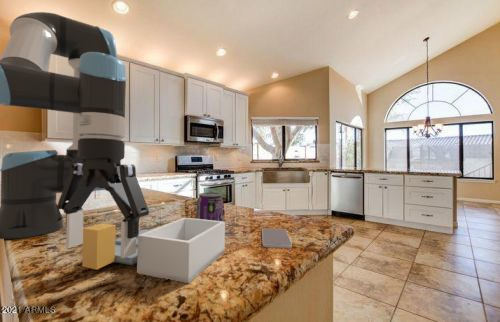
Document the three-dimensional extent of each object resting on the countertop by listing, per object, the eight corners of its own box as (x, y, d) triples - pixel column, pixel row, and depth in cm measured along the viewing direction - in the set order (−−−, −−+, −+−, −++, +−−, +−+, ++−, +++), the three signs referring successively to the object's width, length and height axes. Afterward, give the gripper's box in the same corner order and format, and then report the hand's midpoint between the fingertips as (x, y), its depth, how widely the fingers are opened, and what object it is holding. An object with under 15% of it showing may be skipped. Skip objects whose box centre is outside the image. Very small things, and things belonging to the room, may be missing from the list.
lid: (66, 271, 44) (67, 226, 44) (143, 238, 62) (143, 207, 62) (113, 281, 40) (114, 232, 40) (180, 244, 59) (180, 210, 59)
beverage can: (217, 242, 60) (218, 196, 60) (191, 240, 61) (192, 195, 61) (225, 234, 67) (226, 192, 67) (202, 232, 68) (203, 191, 68)
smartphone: (285, 228, 72) (292, 245, 57) (285, 231, 72) (292, 249, 57) (261, 228, 72) (262, 244, 57) (261, 231, 72) (262, 248, 57)
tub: (137, 273, 43) (137, 235, 43) (183, 245, 57) (184, 217, 57) (188, 283, 40) (189, 242, 40) (224, 251, 54) (225, 221, 54)
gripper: (35, 137, 44) (33, 248, 44) (140, 135, 37) (137, 269, 37) (75, 141, 52) (73, 236, 51) (170, 139, 44) (168, 251, 44)
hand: (100, 250), depth 44 cm, fingers open, 13 cm apart
